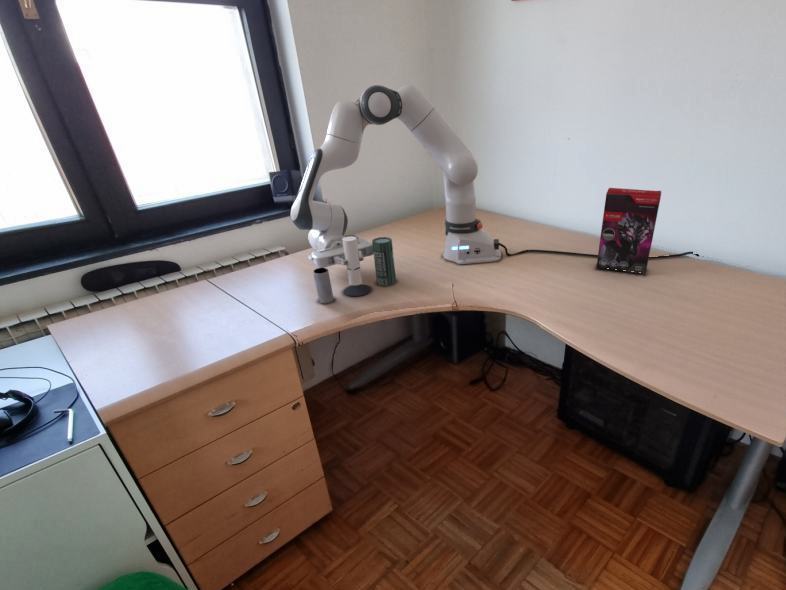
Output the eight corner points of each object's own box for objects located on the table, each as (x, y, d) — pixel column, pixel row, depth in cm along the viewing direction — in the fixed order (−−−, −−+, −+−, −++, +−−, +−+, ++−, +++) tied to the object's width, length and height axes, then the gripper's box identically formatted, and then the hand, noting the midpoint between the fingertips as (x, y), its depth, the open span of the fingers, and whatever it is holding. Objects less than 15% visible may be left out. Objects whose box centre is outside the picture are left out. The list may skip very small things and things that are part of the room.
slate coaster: (373, 285, 155) (373, 284, 155) (368, 296, 148) (368, 295, 147) (347, 285, 155) (347, 284, 155) (341, 297, 148) (340, 295, 148)
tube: (350, 280, 152) (343, 236, 144) (363, 279, 152) (357, 236, 144) (348, 285, 148) (341, 241, 140) (361, 285, 148) (355, 240, 140)
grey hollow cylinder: (336, 298, 147) (331, 268, 142) (328, 304, 143) (322, 274, 138) (324, 296, 148) (318, 266, 143) (316, 302, 145) (310, 272, 139)
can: (398, 280, 158) (394, 238, 150) (389, 287, 154) (384, 244, 146) (383, 277, 161) (379, 236, 153) (374, 284, 156) (368, 241, 148)
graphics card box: (594, 269, 163) (606, 191, 148) (597, 262, 168) (608, 186, 154) (645, 276, 157) (662, 195, 143) (646, 268, 163) (662, 190, 148)
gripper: (304, 246, 148) (321, 259, 138) (361, 233, 158) (380, 244, 149) (307, 265, 151) (324, 278, 142) (363, 251, 161) (382, 262, 152)
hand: (353, 260), depth 145 cm, fingers closed on tube, 4 cm apart
